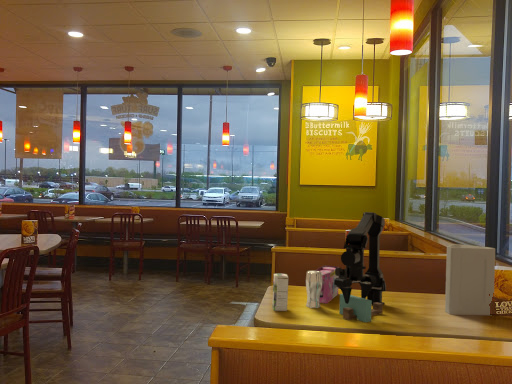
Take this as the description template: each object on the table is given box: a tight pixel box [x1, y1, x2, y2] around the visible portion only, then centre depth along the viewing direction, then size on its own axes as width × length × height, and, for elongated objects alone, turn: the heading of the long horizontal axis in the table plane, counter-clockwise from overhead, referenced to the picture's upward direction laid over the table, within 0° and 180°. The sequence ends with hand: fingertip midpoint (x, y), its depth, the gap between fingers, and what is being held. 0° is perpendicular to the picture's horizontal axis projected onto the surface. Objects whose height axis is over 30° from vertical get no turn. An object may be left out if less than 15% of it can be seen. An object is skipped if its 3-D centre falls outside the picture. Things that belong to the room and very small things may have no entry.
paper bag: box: [444, 243, 496, 316], centre depth 195 cm, size 19×15×28 cm
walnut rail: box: [342, 302, 384, 321], centre depth 180 cm, size 20×3×4 cm, turn 125°
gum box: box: [314, 265, 340, 304], centre depth 210 cm, size 24×8×14 cm, turn 157°
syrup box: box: [271, 273, 289, 312], centre depth 186 cm, size 6×6×14 cm
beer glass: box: [305, 270, 322, 309], centre depth 193 cm, size 7×7×15 cm
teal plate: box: [338, 293, 373, 323], centre depth 178 cm, size 14×3×8 cm, turn 35°
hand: (355, 302), depth 178 cm, fingers open, 9 cm apart
